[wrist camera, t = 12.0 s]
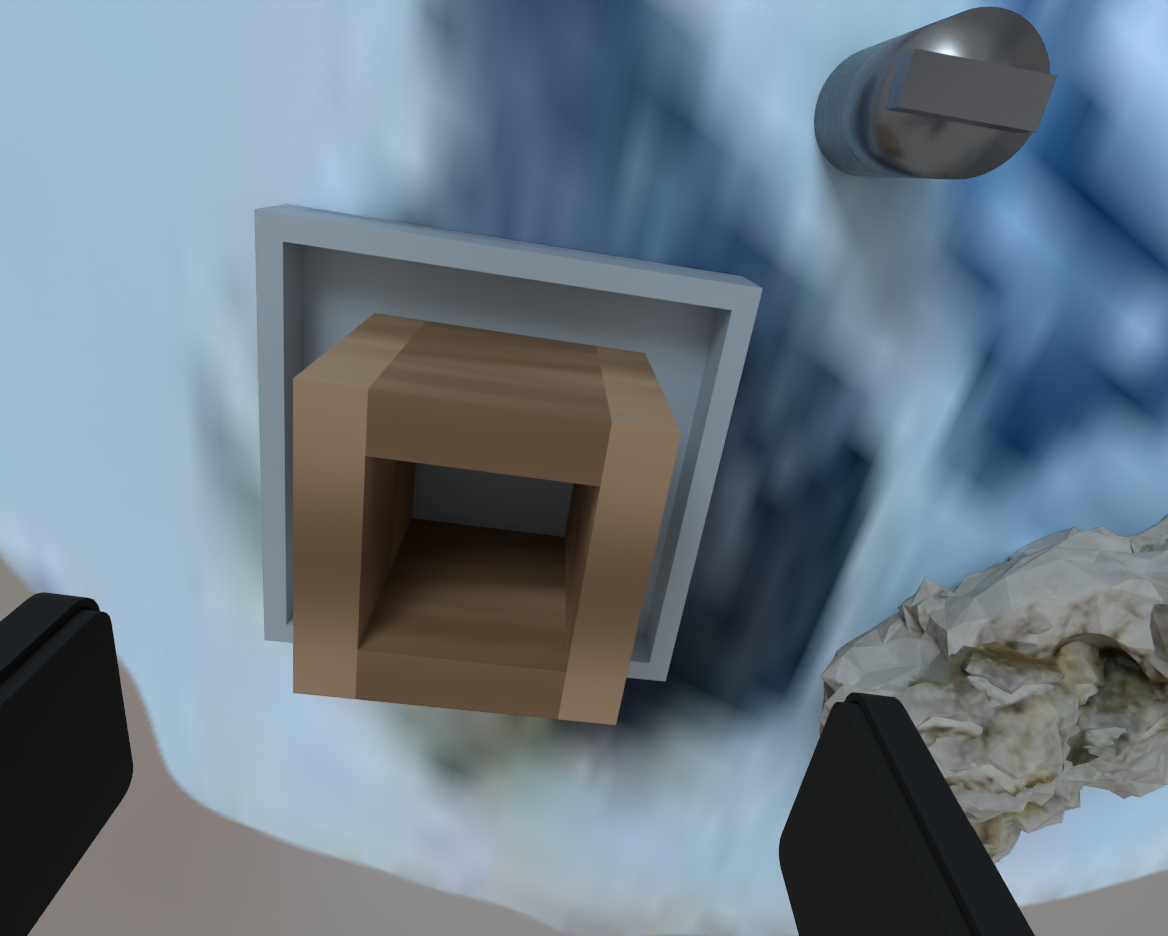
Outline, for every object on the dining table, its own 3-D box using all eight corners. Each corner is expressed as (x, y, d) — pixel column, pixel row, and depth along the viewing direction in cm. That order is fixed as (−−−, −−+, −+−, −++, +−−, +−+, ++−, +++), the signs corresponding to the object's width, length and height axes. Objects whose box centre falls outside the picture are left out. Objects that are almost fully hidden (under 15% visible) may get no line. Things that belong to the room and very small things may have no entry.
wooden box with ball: (374, 312, 18) (293, 378, 12) (645, 353, 19) (681, 432, 13) (362, 592, 21) (293, 742, 16) (593, 618, 22) (605, 771, 16)
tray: (742, 276, 19) (762, 288, 17) (656, 640, 23) (665, 681, 21) (286, 204, 17) (254, 209, 16) (289, 600, 22) (264, 639, 20)
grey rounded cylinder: (946, 58, 17) (1098, 16, 12) (908, 184, 18) (1033, 191, 13) (827, 35, 16) (934, -17, 12) (794, 165, 18) (880, 165, 13)
